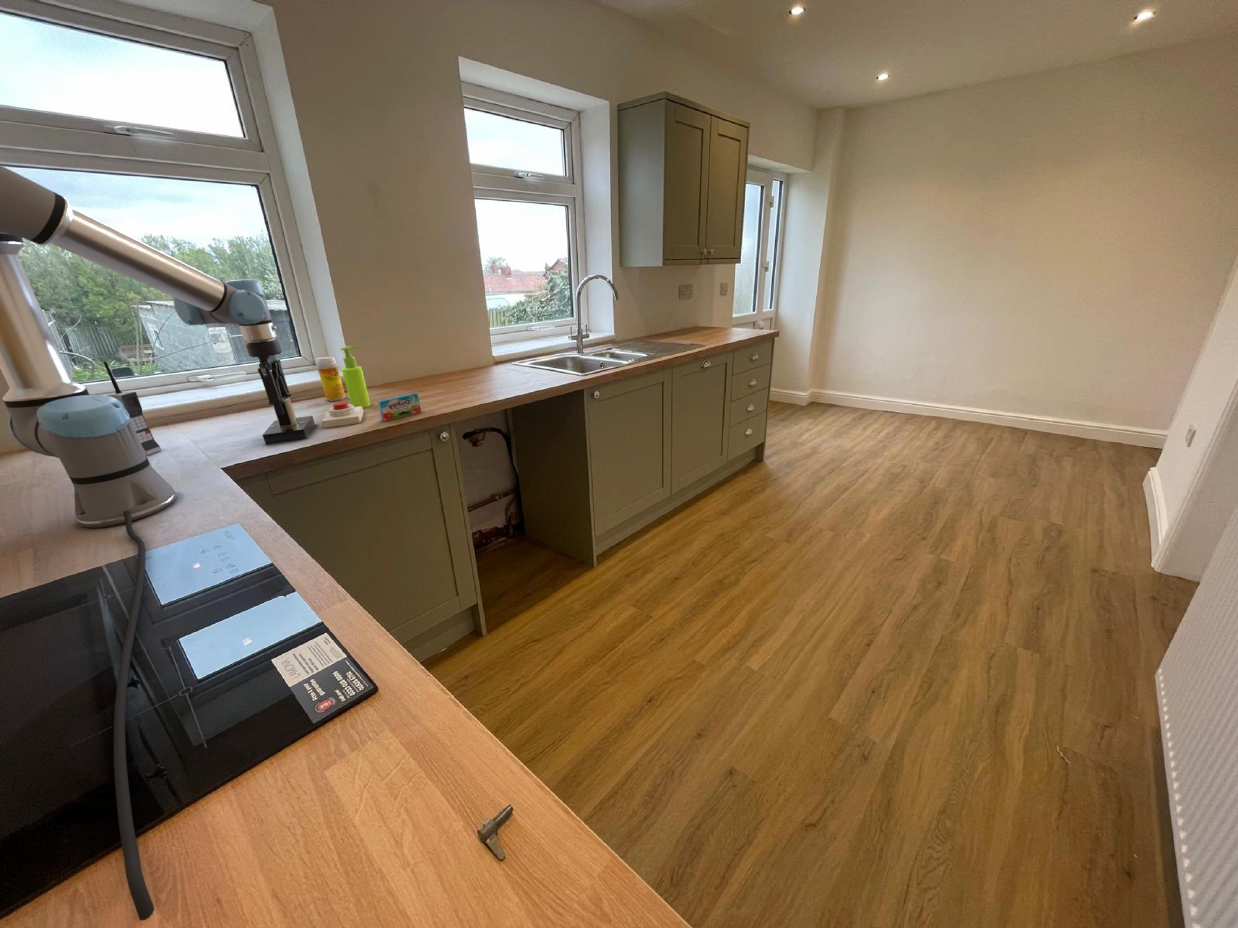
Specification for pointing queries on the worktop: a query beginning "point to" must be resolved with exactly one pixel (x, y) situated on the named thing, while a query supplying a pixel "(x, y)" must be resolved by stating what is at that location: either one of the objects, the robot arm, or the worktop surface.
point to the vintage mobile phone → (135, 416)
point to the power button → (340, 405)
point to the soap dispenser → (354, 380)
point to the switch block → (343, 416)
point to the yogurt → (399, 406)
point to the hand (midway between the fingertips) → (288, 422)
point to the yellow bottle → (330, 378)
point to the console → (289, 431)
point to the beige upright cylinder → (289, 411)
